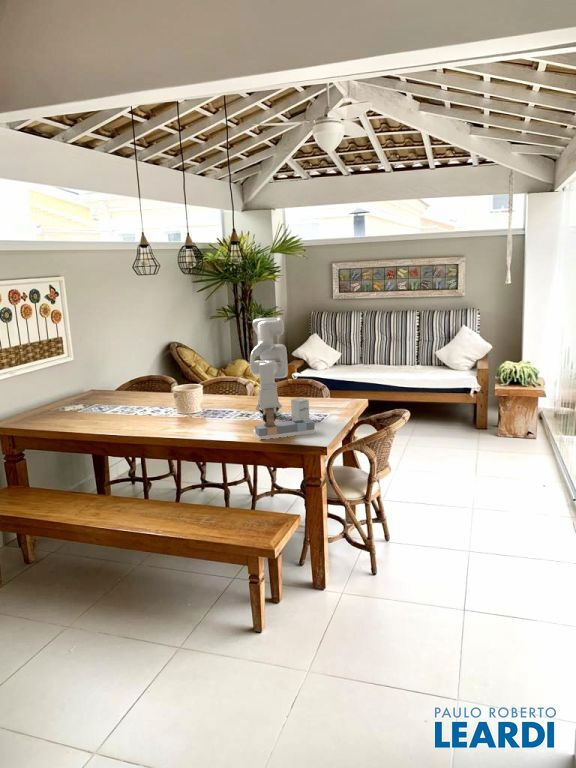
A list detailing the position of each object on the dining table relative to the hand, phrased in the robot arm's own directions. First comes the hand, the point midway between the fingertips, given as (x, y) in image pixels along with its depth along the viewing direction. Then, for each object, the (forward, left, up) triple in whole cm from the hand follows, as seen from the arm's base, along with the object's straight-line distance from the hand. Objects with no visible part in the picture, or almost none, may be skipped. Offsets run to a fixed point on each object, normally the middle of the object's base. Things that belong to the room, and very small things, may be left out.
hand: (269, 420), depth 309 cm
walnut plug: (0, 0, -3) cm, 3 cm away
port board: (-3, +8, -8) cm, 12 cm away
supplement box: (-23, +24, -9) cm, 35 cm away
